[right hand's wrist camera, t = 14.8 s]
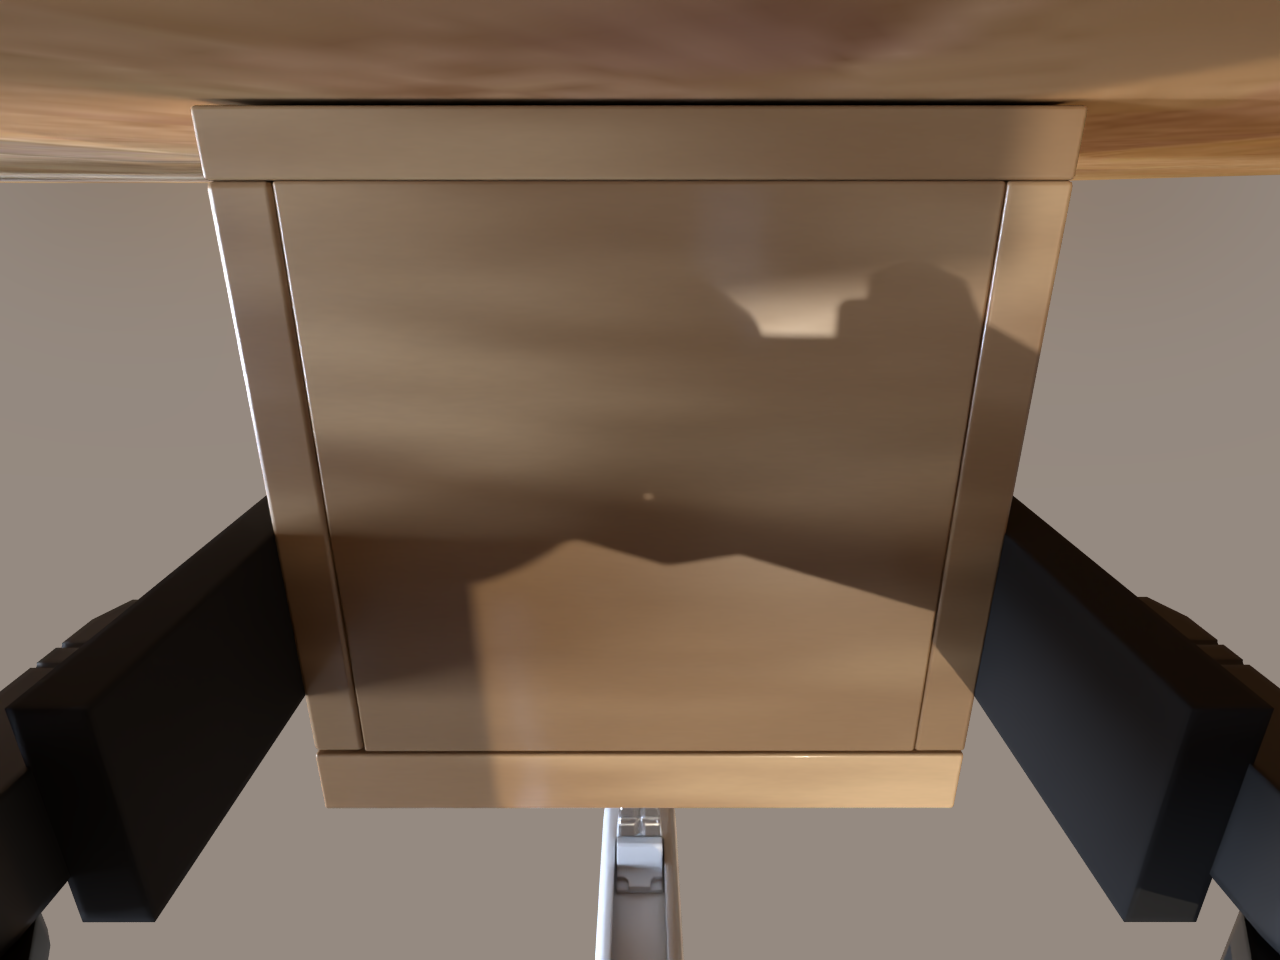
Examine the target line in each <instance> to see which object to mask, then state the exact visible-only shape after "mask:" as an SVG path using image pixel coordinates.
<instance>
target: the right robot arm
mask: <svg viewBox="0 0 1280 960" xmlns="http://www.w3.org/2000/svg"><path fill="white" fill-rule="evenodd" d="M304 696H305V691H304V686H303V681H302V675H301V670H300V665H299V660H298V655H297V649H296V644H295V639H294V634H293V629H292V624H291V618H290V613H289V608H288V603H287V598H286V592H285V587H284V582H283V577H282V572H281V567H280V561H279V556H278V551H277V546H276V541H275V535H274V530H273V525H272V520H271V515H270V510H269V505H268V499H267V495H266V496H265V497H264V498H263V499H261V500H260V501H259V502H258V503H256V504H255V505H254V506H253V507H252V508H250V509H249V510H248V511H247V512H245V513H244V514H243V515H242V516H241V517H239V518H238V519H237V520H236V521H234V522H233V523H232V524H231V525H230V526H228V527H227V528H226V529H225V530H223V531H222V532H221V533H220V534H218V535H217V536H216V537H215V538H213V539H212V540H211V541H210V542H209V543H207V544H206V545H205V546H204V547H202V548H201V549H200V550H199V551H198V552H196V553H195V554H194V555H193V556H191V557H190V558H189V559H188V560H187V561H185V562H184V563H183V564H182V565H180V566H179V567H178V568H177V569H175V570H174V571H173V572H172V573H171V574H169V575H168V576H167V577H166V578H164V579H163V580H162V581H161V582H159V583H158V584H157V585H156V586H155V587H153V588H152V589H151V590H150V591H148V592H147V593H146V594H145V595H143V596H142V597H141V598H140V599H139V600H131V601H129V602H127V603H125V604H123V605H121V606H119V607H117V608H115V609H113V610H111V611H109V612H107V613H105V614H103V615H101V616H99V617H97V618H95V619H93V620H91V621H90V622H89V623H87V624H86V625H85V626H83V627H82V628H81V629H80V630H78V631H77V632H76V633H75V634H73V635H72V636H71V637H69V638H68V639H67V640H66V641H64V642H63V643H62V648H55V649H54V650H53V651H51V652H50V653H49V654H48V655H46V656H45V657H44V658H43V659H41V660H40V661H39V662H37V667H36V668H30V669H28V670H27V671H26V672H25V673H23V674H22V675H21V676H19V677H18V678H17V679H16V680H14V681H13V682H12V683H11V684H9V685H8V686H7V687H5V688H4V689H3V690H2V691H0V960H48V957H49V950H50V941H49V935H48V929H47V927H46V924H45V922H44V919H43V917H42V914H41V912H42V911H43V910H44V909H45V907H46V906H47V905H48V904H49V902H50V901H51V900H52V899H53V898H54V897H55V895H56V894H57V893H58V892H59V890H60V889H61V888H62V887H63V886H64V885H65V883H66V882H67V881H68V883H69V886H70V888H71V891H72V894H73V896H74V899H75V902H76V905H77V908H78V910H79V913H80V916H81V918H82V921H83V922H155V921H156V919H157V918H158V916H159V915H160V913H161V912H162V910H163V909H164V907H165V906H166V904H167V903H168V901H169V900H170V898H171V897H172V895H173V894H174V892H175V891H176V889H177V888H178V886H179V885H180V883H181V882H182V880H183V879H184V877H185V876H186V874H187V873H188V871H189V870H190V868H191V867H192V865H193V864H194V862H195V861H196V859H197V858H198V856H199V855H200V853H201V852H202V850H203V849H204V847H205V846H206V844H207V842H208V841H209V840H210V838H211V836H212V835H213V834H214V832H215V830H216V829H217V827H218V826H219V824H220V823H221V821H222V820H223V818H224V817H225V815H226V814H227V812H228V811H229V809H230V808H231V806H232V805H233V803H234V802H235V800H236V799H237V797H238V796H239V794H240V793H241V791H242V790H243V788H244V787H245V785H246V784H247V782H248V781H249V779H250V778H251V776H252V775H253V773H254V772H255V770H256V769H257V767H258V766H259V764H260V763H261V761H262V760H263V758H264V757H265V755H266V754H267V752H268V751H269V749H270V748H271V746H272V744H273V743H274V742H275V740H276V738H277V737H278V736H279V734H280V732H281V731H282V729H283V728H284V726H285V725H286V723H287V722H288V720H289V719H290V717H291V716H292V714H293V713H294V711H295V710H296V708H297V707H298V705H299V704H300V702H301V701H302V699H303V698H304ZM974 696H975V698H976V699H977V701H978V702H979V704H980V705H981V707H982V708H983V710H984V711H985V713H986V714H987V716H988V717H989V719H990V720H991V722H992V723H993V725H994V726H995V728H996V729H997V731H998V732H999V734H1000V735H1001V737H1002V738H1003V740H1004V741H1005V743H1006V744H1007V746H1008V747H1009V749H1010V750H1011V752H1012V753H1013V755H1014V756H1015V758H1016V759H1017V761H1018V763H1019V764H1020V765H1021V767H1022V768H1023V770H1024V772H1025V773H1026V775H1027V776H1028V778H1029V779H1030V781H1031V782H1032V784H1033V785H1034V787H1035V788H1036V790H1037V791H1038V793H1039V794H1040V796H1041V797H1042V799H1043V800H1044V802H1045V803H1046V805H1047V806H1048V808H1049V809H1050V811H1051V812H1052V814H1053V815H1054V817H1055V818H1056V820H1057V821H1058V823H1059V824H1060V826H1061V827H1062V829H1063V830H1064V832H1065V833H1066V835H1067V836H1068V838H1069V839H1070V841H1071V842H1072V844H1073V845H1074V847H1075V848H1076V850H1077V851H1078V853H1079V854H1080V856H1081V858H1082V859H1083V860H1084V862H1085V863H1086V865H1087V867H1088V868H1089V870H1090V871H1091V873H1092V874H1093V876H1094V877H1095V879H1096V880H1097V882H1098V883H1099V885H1100V886H1101V888H1102V889H1103V891H1104V892H1105V894H1106V895H1107V897H1108V898H1109V900H1110V901H1111V903H1112V904H1113V906H1114V907H1115V909H1116V910H1117V912H1118V913H1119V915H1120V916H1121V918H1122V919H1123V921H1124V922H1196V921H1197V918H1198V915H1199V912H1200V910H1201V907H1202V904H1203V902H1204V899H1205V896H1206V893H1207V891H1208V888H1209V885H1210V882H1211V880H1212V878H1213V879H1214V880H1215V881H1216V883H1217V884H1218V885H1219V886H1220V887H1221V889H1222V890H1223V891H1224V892H1225V893H1226V895H1227V896H1228V897H1229V898H1230V899H1231V901H1232V902H1233V903H1234V904H1235V905H1236V906H1237V908H1238V909H1239V910H1240V911H1239V914H1238V916H1237V919H1236V922H1235V924H1234V927H1233V929H1232V932H1231V934H1230V937H1229V939H1228V942H1227V944H1226V947H1225V950H1224V952H1223V955H1222V957H1221V960H1280V688H1279V687H1277V686H1276V685H1275V684H1273V683H1272V682H1271V681H1270V680H1268V679H1267V678H1266V677H1264V676H1263V675H1262V674H1260V673H1259V672H1258V671H1257V670H1255V669H1254V668H1253V667H1252V666H1250V665H1244V664H1243V660H1242V659H1241V658H1240V657H1239V656H1237V655H1236V654H1235V653H1233V652H1232V651H1231V650H1230V649H1228V648H1227V647H1226V646H1224V645H1218V643H1217V639H1215V638H1214V637H1213V636H1212V635H1210V634H1209V633H1208V632H1206V631H1205V630H1204V629H1202V628H1201V627H1200V626H1199V625H1197V624H1196V623H1195V622H1194V621H1192V620H1191V619H1190V618H1188V617H1187V616H1185V615H1183V614H1181V613H1179V612H1177V611H1175V610H1172V609H1170V608H1168V607H1166V606H1164V605H1162V604H1160V603H1158V602H1156V601H1154V600H1152V599H1150V598H1148V597H1137V596H1136V595H1134V594H1133V593H1132V592H1131V591H1129V590H1128V589H1127V588H1126V587H1124V586H1123V585H1122V584H1121V583H1120V582H1118V581H1117V580H1116V579H1115V578H1113V577H1112V576H1111V575H1110V574H1108V573H1107V572H1106V571H1105V570H1104V569H1102V568H1101V567H1100V566H1099V565H1097V564H1096V563H1095V562H1094V561H1092V560H1091V559H1090V558H1089V557H1088V556H1086V555H1085V554H1084V553H1083V552H1081V551H1080V550H1079V549H1078V548H1077V547H1075V546H1074V545H1073V544H1072V543H1070V542H1069V541H1068V540H1067V539H1066V538H1064V537H1063V536H1062V535H1061V534H1059V533H1058V532H1057V531H1056V530H1054V529H1053V528H1052V527H1051V526H1050V525H1048V524H1047V523H1046V522H1045V521H1043V520H1042V519H1041V518H1040V517H1038V516H1037V515H1036V514H1035V513H1034V512H1032V511H1031V510H1030V509H1029V508H1027V507H1026V506H1025V505H1024V504H1023V503H1021V502H1020V501H1019V500H1018V499H1016V498H1015V497H1014V496H1013V497H1012V502H1011V508H1010V513H1009V518H1008V523H1007V528H1006V533H1005V536H1004V541H1003V547H1002V552H1001V557H1000V562H999V567H998V573H997V578H996V583H995V588H994V593H993V599H992V604H991V609H990V614H989V619H988V625H987V630H986V635H985V640H984V645H983V651H982V656H981V661H980V666H979V671H978V677H977V682H976V687H975V692H974Z"/></svg>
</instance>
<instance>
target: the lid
mask: <svg viewBox="0 0 1280 960" xmlns="http://www.w3.org/2000/svg"><path fill="white" fill-rule="evenodd" d="M962 759H963V754H962V752H961V750H916V749H915V748H914V749H913V750H912V751H366V750H365V747H364V748H362V749H360V750H318V752H317V754H316V760H317V765H318V770H319V775H320V780H321V785H322V791H323V796H324V801H325V806H326V807H327V808H951V807H953V805H954V800H955V795H956V790H957V785H958V779H959V774H960V769H961V764H962Z"/></svg>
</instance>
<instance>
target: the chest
mask: <svg viewBox="0 0 1280 960" xmlns="http://www.w3.org/2000/svg"><path fill="white" fill-rule="evenodd" d="M191 114H192V120H193V125H194V130H195V135H196V140H197V145H198V151H199V156H200V161H201V166H202V171H203V176H204V178H205V179H207V180H211V181H213V182H211V183H209V184H208V194H209V199H210V204H211V209H212V214H213V220H214V225H215V230H216V235H217V240H218V246H219V251H220V256H221V261H222V266H223V271H224V277H225V282H226V287H227V292H228V297H229V302H230V308H231V313H232V318H233V323H234V328H235V334H236V339H237V344H238V349H239V354H240V359H241V365H242V370H243V375H244V380H245V385H246V391H247V396H248V401H249V406H250V411H251V416H252V422H253V427H254V432H255V437H256V442H257V448H258V453H259V458H260V463H261V468H262V473H263V479H264V484H265V489H266V494H267V499H268V505H269V510H270V515H271V520H272V525H273V530H274V535H275V541H276V546H277V551H278V556H279V561H280V567H281V572H282V577H283V582H284V587H285V592H286V598H287V603H288V608H289V613H290V618H291V624H292V629H293V634H294V639H295V644H296V649H297V655H298V660H299V665H300V670H301V675H302V681H303V686H304V691H305V696H306V701H307V707H308V712H309V717H310V722H311V727H312V732H313V737H314V743H315V747H316V748H317V749H319V750H360V749H362V748H364V747H365V750H366V751H912V750H913V749H914V748H915V749H916V750H963V749H964V746H965V741H966V736H967V731H968V726H969V720H970V715H971V710H972V705H973V700H974V692H975V687H976V682H977V677H978V671H979V666H980V661H981V656H982V651H983V645H984V640H985V635H986V630H987V625H988V619H989V614H990V609H991V604H992V599H993V593H994V588H995V583H996V578H997V573H998V567H999V562H1000V557H1001V552H1002V547H1003V541H1004V536H1005V533H1006V528H1007V523H1008V518H1009V513H1010V508H1011V502H1012V497H1013V492H1014V487H1015V482H1016V476H1017V471H1018V466H1019V461H1020V456H1021V450H1022V445H1023V440H1024V435H1025V430H1026V425H1027V419H1028V414H1029V409H1030V404H1031V399H1032V393H1033V388H1034V383H1035V378H1036V373H1037V367H1038V362H1039V357H1040V352H1041V347H1042V341H1043V336H1044V331H1045V326H1046V320H1047V316H1048V310H1049V305H1050V300H1051V295H1052V290H1053V284H1054V279H1055V274H1056V269H1057V264H1058V258H1059V253H1060V248H1061V243H1062V238H1063V232H1064V227H1065V222H1066V217H1067V211H1068V207H1069V201H1070V196H1071V191H1072V182H1070V181H1068V180H1071V179H1073V178H1074V176H1075V172H1076V167H1077V162H1078V157H1079V152H1080V146H1081V141H1082V136H1083V131H1084V126H1085V121H1086V115H1087V107H1086V106H1084V105H195V106H193V107H191Z"/></svg>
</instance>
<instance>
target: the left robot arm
mask: <svg viewBox="0 0 1280 960" xmlns="http://www.w3.org/2000/svg"><path fill="white" fill-rule="evenodd" d="M595 960H684V955H683V938H682V920H681V903H680V885H679V867H678V850H677V832H676V817H675V810H674V808H605V811H604V820H603V836H602V853H601V870H600V887H599V904H598V921H597V938H596V955H595Z"/></svg>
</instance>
